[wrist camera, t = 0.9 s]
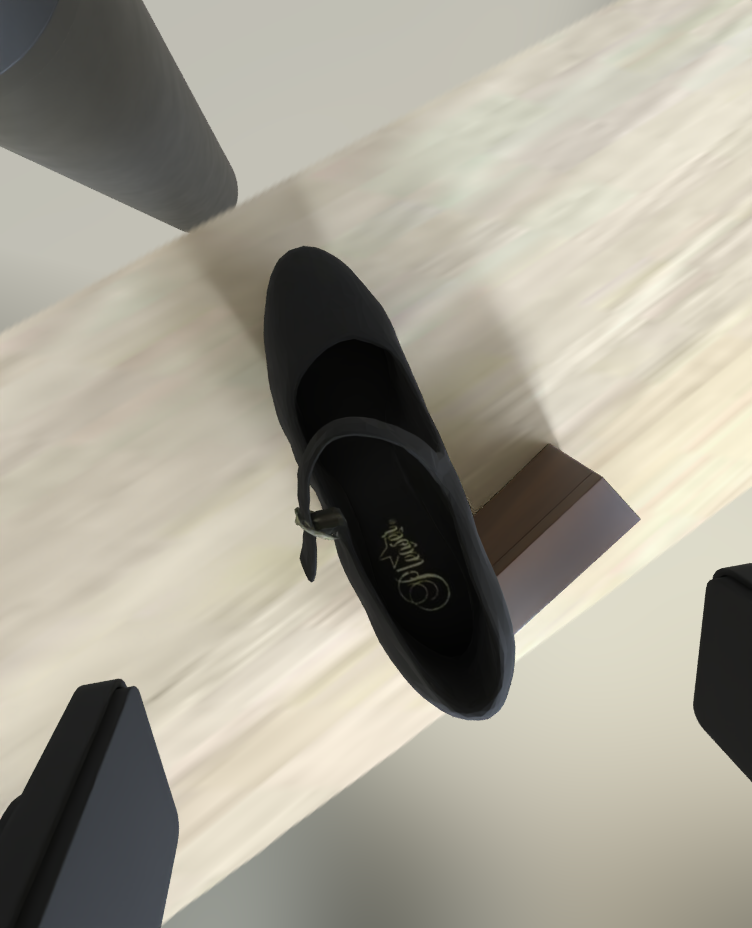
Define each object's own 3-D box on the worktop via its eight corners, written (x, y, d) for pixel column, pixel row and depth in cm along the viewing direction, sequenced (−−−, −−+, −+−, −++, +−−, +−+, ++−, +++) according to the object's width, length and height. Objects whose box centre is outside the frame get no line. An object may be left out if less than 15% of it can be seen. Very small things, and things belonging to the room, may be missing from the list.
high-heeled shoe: (341, 235, 32) (410, 165, 13) (448, 509, 38) (599, 727, 19) (214, 289, 32) (101, 299, 13) (344, 554, 38) (393, 818, 19)
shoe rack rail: (386, 599, 40) (404, 662, 33) (548, 442, 38) (602, 476, 31) (423, 629, 41) (448, 695, 34) (582, 479, 39) (641, 519, 32)
